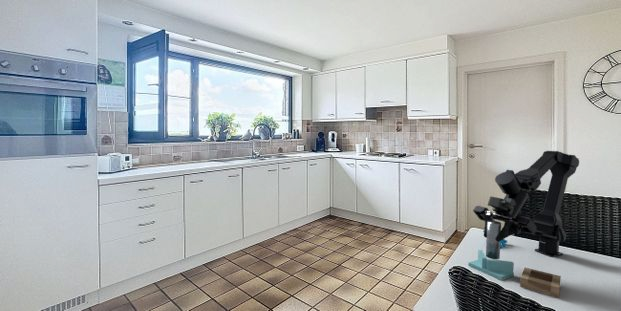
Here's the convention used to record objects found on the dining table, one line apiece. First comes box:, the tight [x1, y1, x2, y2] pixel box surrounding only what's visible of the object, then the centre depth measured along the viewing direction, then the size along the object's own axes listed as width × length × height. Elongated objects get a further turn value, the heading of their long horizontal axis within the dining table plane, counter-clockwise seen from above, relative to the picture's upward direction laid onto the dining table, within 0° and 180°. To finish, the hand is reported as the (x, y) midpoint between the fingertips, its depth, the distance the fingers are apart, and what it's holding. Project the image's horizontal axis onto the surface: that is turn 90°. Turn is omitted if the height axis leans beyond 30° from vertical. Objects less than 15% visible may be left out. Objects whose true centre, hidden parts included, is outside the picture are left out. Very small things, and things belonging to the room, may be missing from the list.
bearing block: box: [519, 266, 562, 299], centre depth 90 cm, size 9×9×3 cm
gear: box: [482, 226, 508, 249], centre depth 124 cm, size 11×6×10 cm
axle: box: [485, 220, 502, 260], centre depth 100 cm, size 4×4×12 cm
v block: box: [467, 249, 515, 281], centre depth 100 cm, size 6×12×5 cm, turn 25°
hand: (490, 238), depth 99 cm, fingers closed on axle, 4 cm apart
